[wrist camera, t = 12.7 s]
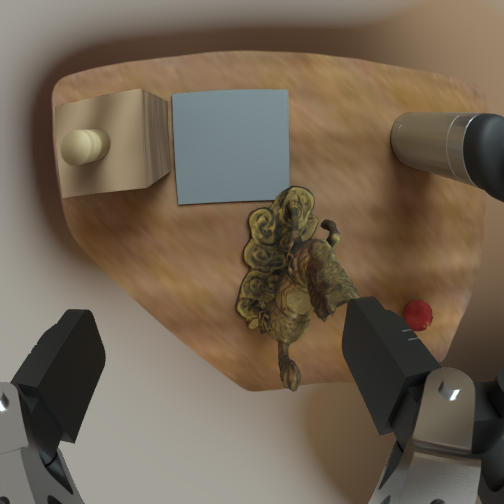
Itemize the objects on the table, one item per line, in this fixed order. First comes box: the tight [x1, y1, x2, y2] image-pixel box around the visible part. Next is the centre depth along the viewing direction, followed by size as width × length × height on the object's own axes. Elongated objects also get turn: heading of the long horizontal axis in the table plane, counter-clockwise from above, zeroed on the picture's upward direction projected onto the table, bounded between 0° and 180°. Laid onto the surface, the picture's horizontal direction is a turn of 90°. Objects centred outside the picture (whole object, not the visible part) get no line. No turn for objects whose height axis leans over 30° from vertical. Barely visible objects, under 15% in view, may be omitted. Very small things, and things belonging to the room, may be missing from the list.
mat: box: [172, 90, 289, 205], centre depth 41 cm, size 16×16×1 cm
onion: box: [404, 300, 433, 331], centre depth 50 cm, size 6×6×8 cm
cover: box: [55, 89, 171, 198], centre depth 31 cm, size 10×10×19 cm
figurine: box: [236, 186, 360, 391], centre depth 39 cm, size 13×25×20 cm, turn 161°
